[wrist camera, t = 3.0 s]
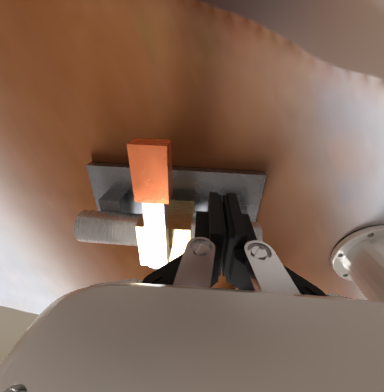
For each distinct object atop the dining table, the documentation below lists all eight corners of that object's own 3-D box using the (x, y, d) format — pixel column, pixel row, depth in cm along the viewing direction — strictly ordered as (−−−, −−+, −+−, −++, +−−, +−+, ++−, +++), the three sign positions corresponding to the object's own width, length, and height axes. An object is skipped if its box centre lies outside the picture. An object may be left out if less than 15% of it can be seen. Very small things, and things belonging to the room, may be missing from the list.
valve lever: (175, 257, 24) (171, 277, 21) (151, 255, 24) (144, 275, 21) (173, 137, 17) (166, 146, 14) (139, 135, 17) (126, 144, 14)
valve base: (263, 171, 28) (288, 208, 19) (247, 243, 35) (260, 294, 26) (91, 161, 29) (42, 191, 21) (108, 232, 36) (77, 277, 28)
